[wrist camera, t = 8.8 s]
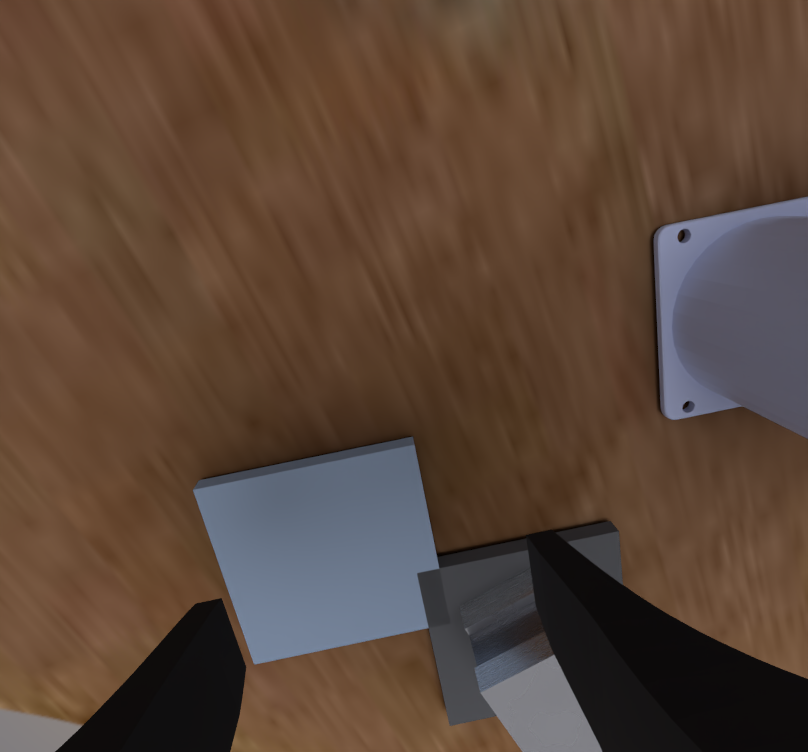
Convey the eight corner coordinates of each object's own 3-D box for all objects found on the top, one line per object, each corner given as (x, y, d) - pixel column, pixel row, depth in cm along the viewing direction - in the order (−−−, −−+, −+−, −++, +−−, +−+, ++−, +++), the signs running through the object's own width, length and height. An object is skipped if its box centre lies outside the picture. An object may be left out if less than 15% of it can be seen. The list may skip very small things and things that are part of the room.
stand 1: (412, 436, 22) (414, 444, 21) (447, 610, 24) (450, 623, 24) (199, 480, 22) (192, 490, 21) (257, 650, 24) (254, 664, 24)
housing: (592, 654, 25) (640, 745, 21) (518, 691, 25) (549, 789, 21) (538, 563, 23) (578, 642, 19) (459, 605, 23) (480, 693, 19)
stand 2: (610, 520, 24) (618, 531, 23) (622, 673, 26) (630, 687, 26) (415, 561, 24) (416, 573, 23) (447, 710, 26) (449, 725, 25)
